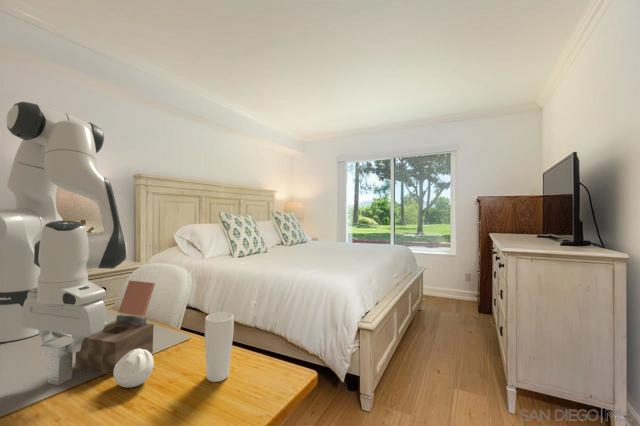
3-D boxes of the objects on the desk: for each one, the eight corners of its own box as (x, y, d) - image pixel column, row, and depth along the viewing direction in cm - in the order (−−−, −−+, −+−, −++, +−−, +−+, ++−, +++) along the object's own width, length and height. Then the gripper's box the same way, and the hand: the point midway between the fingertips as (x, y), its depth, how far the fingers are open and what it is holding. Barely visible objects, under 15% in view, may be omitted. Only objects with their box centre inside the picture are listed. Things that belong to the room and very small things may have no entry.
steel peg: (38, 385, 66) (39, 345, 66) (63, 372, 71) (64, 336, 71) (56, 388, 65) (58, 348, 65) (80, 376, 70) (81, 338, 70)
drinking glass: (204, 387, 67) (206, 323, 67) (201, 372, 73) (203, 313, 73) (234, 381, 71) (236, 319, 70) (229, 367, 77) (231, 310, 76)
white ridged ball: (105, 392, 65) (106, 357, 65) (131, 373, 72) (132, 342, 72) (137, 396, 64) (138, 361, 63) (161, 377, 71) (162, 345, 71)
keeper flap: (118, 312, 83) (121, 312, 84) (142, 315, 81) (144, 315, 82) (129, 280, 86) (131, 281, 87) (152, 282, 84) (155, 283, 85)
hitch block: (75, 368, 73) (76, 328, 73) (117, 346, 85) (118, 312, 85) (114, 375, 71) (116, 334, 71) (152, 352, 83) (153, 317, 83)
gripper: (12, 290, 67) (11, 350, 67) (85, 298, 63) (83, 362, 63) (43, 283, 73) (42, 338, 73) (111, 291, 69) (109, 349, 69)
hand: (61, 349), depth 68 cm, fingers open, 6 cm apart
